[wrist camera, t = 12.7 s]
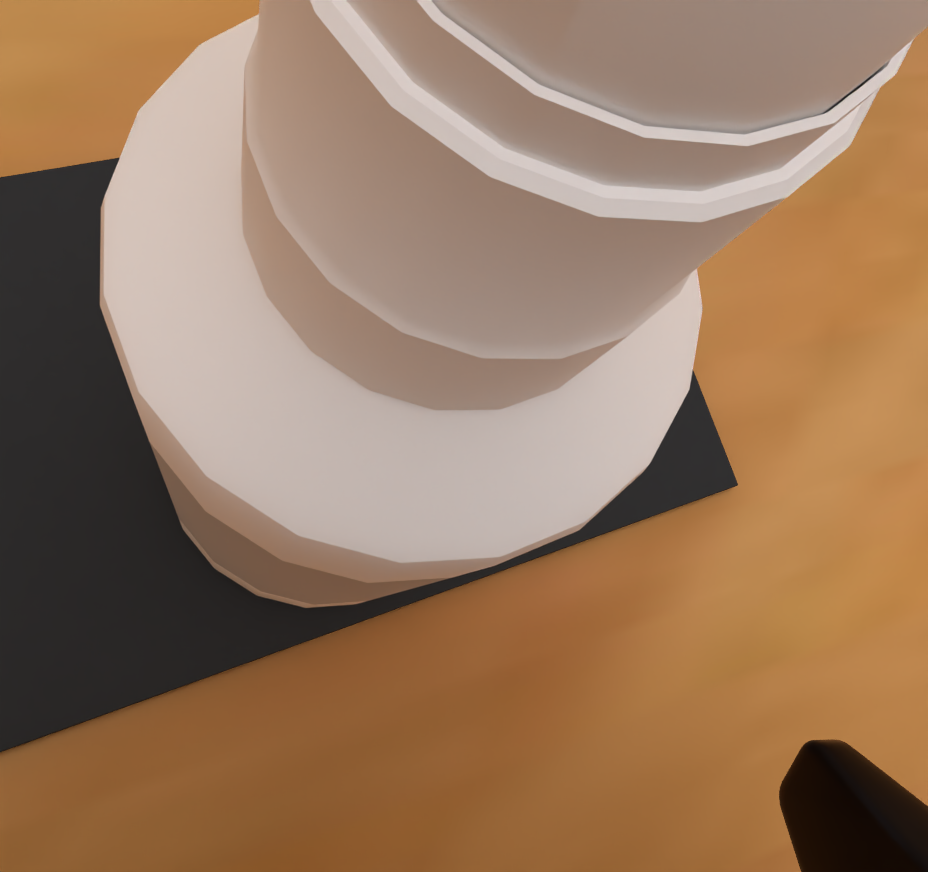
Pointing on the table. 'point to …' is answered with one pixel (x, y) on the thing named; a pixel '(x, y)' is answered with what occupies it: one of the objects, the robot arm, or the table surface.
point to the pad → (155, 497)
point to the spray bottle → (449, 260)
